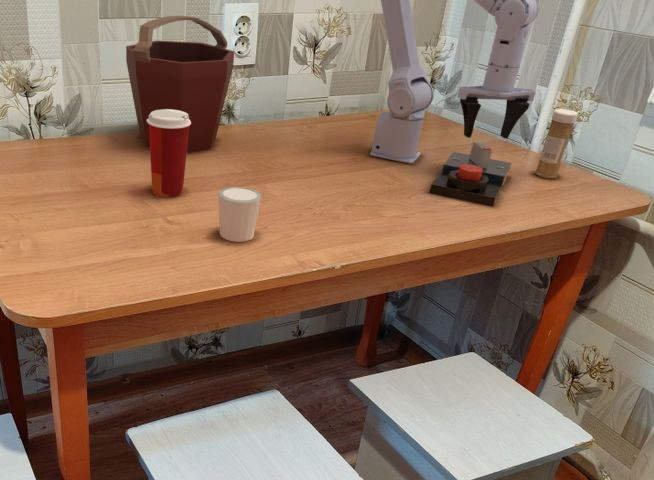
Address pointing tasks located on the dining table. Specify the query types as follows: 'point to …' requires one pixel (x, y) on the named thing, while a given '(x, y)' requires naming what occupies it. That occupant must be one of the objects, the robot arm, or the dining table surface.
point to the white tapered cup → (238, 213)
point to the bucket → (180, 80)
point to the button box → (466, 188)
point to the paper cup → (168, 150)
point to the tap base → (494, 171)
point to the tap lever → (480, 154)
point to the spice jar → (556, 143)
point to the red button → (470, 172)
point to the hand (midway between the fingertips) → (485, 136)
